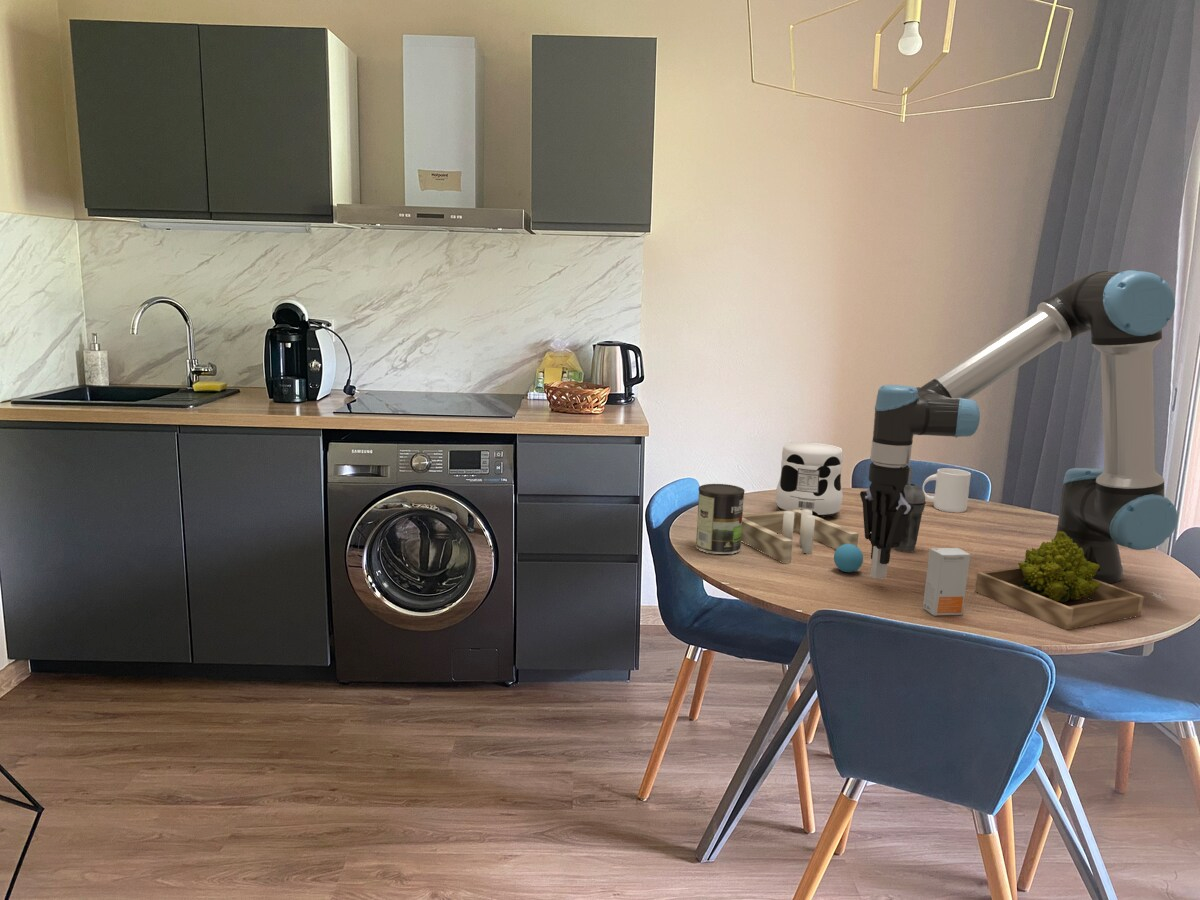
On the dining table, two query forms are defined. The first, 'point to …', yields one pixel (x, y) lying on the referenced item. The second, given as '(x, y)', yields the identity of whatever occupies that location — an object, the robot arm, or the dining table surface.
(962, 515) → the dining table surface
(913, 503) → the beverage cup
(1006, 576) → the crate
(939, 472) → the mug
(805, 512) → the pin back right
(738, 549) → the coffee can
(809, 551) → the pin front
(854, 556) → the ball
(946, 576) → the skincare box
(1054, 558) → the vegetable
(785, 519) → the pin back left
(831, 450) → the milk container
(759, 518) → the bumper
